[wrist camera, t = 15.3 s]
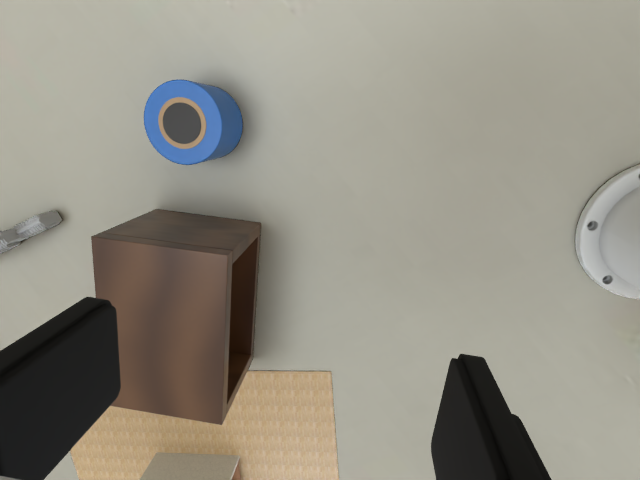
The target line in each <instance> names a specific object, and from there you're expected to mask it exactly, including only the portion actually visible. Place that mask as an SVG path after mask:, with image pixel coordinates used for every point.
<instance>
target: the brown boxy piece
mask: <svg viewBox="0 0 640 480" xmlns="http://www.w3.org/2000/svg"><path fill="white" fill-rule="evenodd" d="M260 233H261V223H258V222H251V221H243V220H235V219H228V218H220V217H212V216H205V215H197V214H189V213H182V212H174V211H166V210H159V209H155V210H153V211H151V212H148V213H146V214H144V215H141V216H139V217H137V218H134V219H132V220H130V221H127V222H125V223H123V224H120V225H118V226H115V227H113V228H111V229H108V230H106V231H104V232H102V233H99V234H97V235H94V236H92V237H91V239H92V252H93V265H94V278H95V291H96V298H98V299H105V300H109V301H110V302H111V304H112V306H114V307H115V308H116V312H117V329H118V346H119V363H120V380H121V388H120V392H119V395H118V397H117V398H116V400H115V401H114V402H113V403H112V404H111V405H110V406H114V407H120V408H125V409H131V410H137V411H143V412H149V413H154V414H160V415H166V416H172V417H178V418H184V419H189V420H195V421H201V422H207V423H213V424H218V425H222V424H223V422H224V420H225V418H226V415H227V413H228V411H229V409H230V407H231V405H232V403H233V401H234V398H235V396H236V394H237V392H238V390H239V388H240V386H241V384H242V382H243V379H244V377H245V375H246V373H247V371H248V369H249V367H250V365H251V362H252V360H253V350H254V333H255V317H256V300H257V283H258V266H259V250H260Z"/></svg>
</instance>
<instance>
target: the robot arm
mask: <svg viewBox="0 0 640 480" xmlns="http://www.w3.org/2000/svg"><path fill="white" fill-rule="evenodd" d="M639 174H640V164H639V165H636V166H634V167H632V168H629V169H627V170H624V171H623V172H621V173H619V174H618V175H616V176H614V177H613V178H611V179H610V180H609V181H607V182H606V183H605V184H604V185H603V186H602V187H600V188H599V189H598V190H597V192H596V193H595V194H594V195H593V196H592V197H591V199H590V200H589V201H588V203H587V205H586V206H585V208H584V210H583V211H582V213H581V216H580V219H579V221H578V224H577V229H576V236H575V244H576V252H577V256H578V259H579V262H580V264H581V265H582V267H583V269H584V271H585V272H586V273H587V274H588V275H589V277H590V278H591V279H592V280H593V281H595V282H596V283H597V284H599V285H600V286H601V287H603V288H605V289H606V290H608V291H610V292H612V293H614V294H617V295H620V296H623V297H626V298H633V299H640V175H639ZM589 222H590V224H589V225H588V223H589ZM587 225H588V226H587ZM120 388H121V380H120V363H119V346H118V329H117V312H116V308H115V307H114V306H112V304H111V302H110V301H109V300H105V299H98V298H92V297H86V298H84V299H82V300H81V301H79V302H78V303H76V304H74V305H73V306H71V307H70V308H68V309H66V310H65V311H63V312H62V313H60V314H59V315H57V316H55V317H54V318H52V319H51V320H49V321H47V322H46V323H44V324H43V325H41V326H39V327H38V328H36V329H35V330H33V331H32V332H30V333H28V334H27V335H25V336H24V337H22V338H20V339H19V340H17V341H16V342H14V343H12V344H11V345H9V346H8V347H6V348H5V349H3V350H1V351H0V480H44V479H45V478H46V476H47V475H48V474H49V473H50V472H51V471H52V470H53V469H54V468H55V466H56V465H57V464H58V463H59V462H60V461H61V460H62V459H63V458H64V456H65V455H66V454H67V453H68V452H69V451H70V450H71V449H72V448H73V446H74V445H75V444H76V443H77V442H78V441H79V440H80V439H81V438H82V436H83V435H84V434H85V433H86V432H87V431H88V430H89V429H90V428H91V426H92V425H93V424H94V423H95V422H96V421H97V420H98V419H99V418H100V416H101V415H102V414H103V413H104V412H105V411H106V410H107V409H108V408H109V406H110V405H111V404H112V403H113V402H114V401H115V400H116V398H117V397H118V395H119V392H120ZM431 453H432V459H433V464H434V469H435V474H436V480H551V478H550V476H549V474H548V472H547V470H546V468H545V466H544V464H543V462H542V460H541V459H540V457H539V455H538V453H537V451H536V449H535V447H534V445H533V443H532V441H531V439H530V437H529V435H528V433H527V431H526V429H525V427H524V425H523V423H522V421H521V420H520V419H519V417H518V416H516V415H514V414H511V412H510V410H509V408H508V406H507V404H506V402H505V400H504V398H503V396H502V394H501V391H500V389H499V387H498V385H497V383H496V381H495V379H494V377H493V375H492V373H491V371H490V369H489V367H488V365H487V363H486V361H485V359H484V358H483V357H478V356H471V355H465V354H460V355H459V357H458V359H454V358H452V359H451V361H450V365H449V369H448V373H447V378H446V382H445V386H444V390H443V394H442V399H441V403H440V407H439V411H438V415H437V420H436V424H435V428H434V432H433V437H432V443H431Z"/></svg>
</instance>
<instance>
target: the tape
mask: <svg viewBox="0 0 640 480" xmlns="http://www.w3.org/2000/svg"><path fill="white" fill-rule="evenodd" d="M144 125H145V130H146V133H147V136H148V138H149V140H150V142H151V143H152V145H153V146H154V148H155V149H156V150H157V151H158V152H159V153H160V154H161V155H162V156H164V157H165V158H167V159H168V160H170V161H172V162H175V163H178V164H183V165H192V164H197V163H201V162H205V161H208V160H212V159H216V158H220V157H223V156H225V155H227V154H229V153H230V152H231V151H232V150H233V149H234V148H235V147H236V146H237V144H238V142H239V140H240V138H241V134H242V128H243V122H242V116H241V112H240V110H239V107H238V105H237V104H236V102H235V101H234V99H233V98H232V97H231V96H230V95H229V94H228V93H226V92H225V91H223V90H222V89H220V88H217V87H214V86H210V85H205V84H201V83H196V82H192V81H187V80H172V81H168V82H166V83H163V84H162V85H160V86H159V87H157V88H156V89H155V90H154V91H153V93H152V94H151V95H150V97H149V99H148V101H147V103H146V106H145V111H144Z"/></svg>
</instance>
